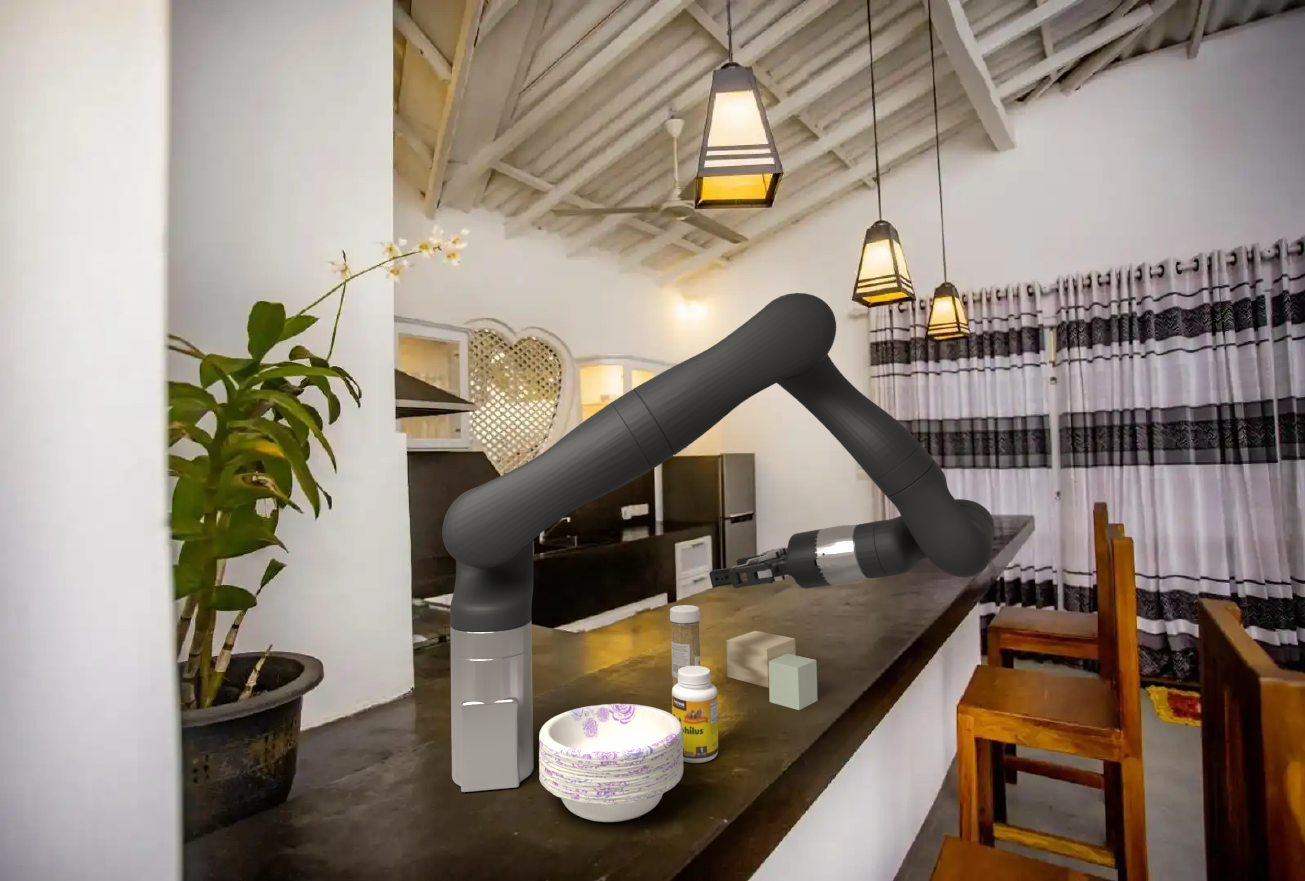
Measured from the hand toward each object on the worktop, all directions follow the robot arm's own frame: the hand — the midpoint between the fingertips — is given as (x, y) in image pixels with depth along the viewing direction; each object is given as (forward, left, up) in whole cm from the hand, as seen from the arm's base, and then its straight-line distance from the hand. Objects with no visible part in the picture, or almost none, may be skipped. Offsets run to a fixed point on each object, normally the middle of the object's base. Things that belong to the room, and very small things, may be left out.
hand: (725, 572), depth 100 cm
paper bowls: (-24, +19, -20) cm, 36 cm away
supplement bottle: (-15, +8, -20) cm, 26 cm away
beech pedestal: (+12, -9, -19) cm, 24 cm away
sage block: (0, -10, -19) cm, 22 cm away
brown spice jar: (+5, +5, -20) cm, 21 cm away
